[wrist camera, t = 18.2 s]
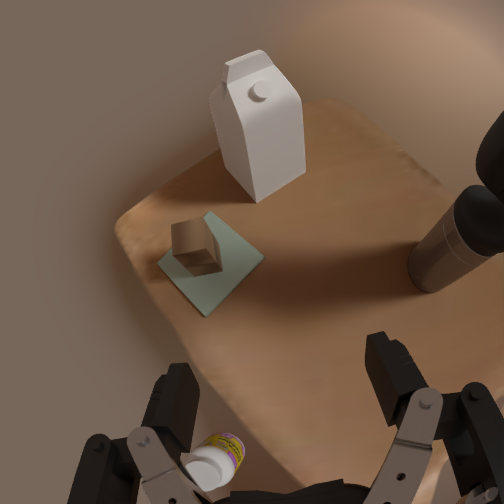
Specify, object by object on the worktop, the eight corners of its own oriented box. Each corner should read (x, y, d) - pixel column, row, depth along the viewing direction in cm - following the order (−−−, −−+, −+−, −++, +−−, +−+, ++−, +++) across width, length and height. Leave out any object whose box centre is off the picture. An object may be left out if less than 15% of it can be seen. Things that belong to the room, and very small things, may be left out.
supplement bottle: (254, 452, 35) (240, 484, 23) (223, 472, 34) (200, 504, 22) (226, 423, 37) (202, 445, 26) (197, 443, 36) (165, 467, 25)
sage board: (210, 212, 52) (210, 210, 52) (264, 257, 47) (264, 256, 47) (157, 264, 50) (156, 263, 49) (206, 317, 45) (205, 316, 44)
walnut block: (219, 244, 49) (203, 217, 39) (223, 271, 47) (206, 248, 37) (192, 250, 49) (171, 224, 40) (195, 276, 47) (172, 255, 38)
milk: (271, 140, 57) (256, 35, 33) (305, 171, 53) (306, 56, 29) (225, 167, 56) (188, 62, 32) (256, 203, 52) (228, 88, 28)
